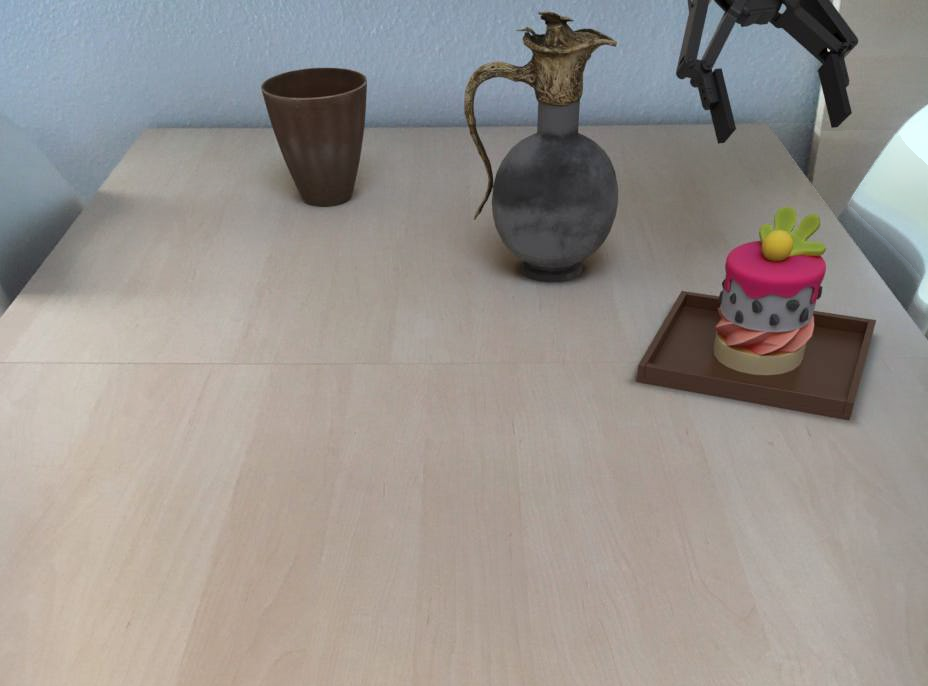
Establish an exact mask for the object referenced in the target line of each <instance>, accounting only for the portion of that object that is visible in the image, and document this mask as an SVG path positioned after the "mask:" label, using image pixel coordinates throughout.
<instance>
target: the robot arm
mask: <svg viewBox="0 0 928 686" xmlns="http://www.w3.org/2000/svg"><path fill="white" fill-rule="evenodd" d="M686 1H687V7H688V15H687V22H686V25H685V29H684V34H683V39H682V43H681V48H680V52H679V58H678V61H677V65H676V71H675V76H676V77H677V79H679V80H684V79H686V78H688V79H689V85H690V86H691V87H692V88H695V89H697V90H698V94H699V98H700V103H701V107H702V108H703V110H704V111H709V112H710V116H711V121H712V125H713V128H714V133H715V138H716V141H717V144H718V145H719V144H720V145H721V144H726V142H727V140H729V138H730V137H731V136H732V135H733V133H734V132H735V131H736V130H737V126H736V122H735V119H734V113H733V110H732V105H731V101H730V97H729V93H728V89H727V85H726V81H725V76H724V73H723V68H722V67H719V68H714V66H715V64H716V63H717V60H718V58H719V56H720V54H721V53H722V50H723V49H724V46H725V44H726V42H727V40H728V38H729V36H730V34H731V32H732V31H733V28H734V26H735V24H738V25H740V27H741V28H745V27H746V28H747V27H749V26H752V25H759V26H763V25H768V24H769V23H770V24H771V25H772V26H773V27H774V28H776V29H782V30H783V31H784V32H786V33H787V34H788V35H790V37H792V39H794V41H796V42H797V43H798V44H799V45H800V46H802V48H804V49H805V50H806V51H807V52H808V53H809V54H811V55H812V56H813V57H814V58H815V59H816V60H818V62H820V63H821V66H819V68H818V69H817V73H818V78H819V81H820V85H821V90H822V94H823V99H824V101H825V106H826V111H827V114H828V119H829V123H830V126H831V129H835V128H838V127H840V126H841V124H843V123H844V121H846V120H847V119H848V117H849V116H851V114H853V112H852V107H851V103H850V99H849V95H848V91H847V88H848V86H850V77H849V74H848V69H847V68H848V67H847V64H846V61H845V59H846V57H847V56H848V55H849V54H850V53H851V52H852V51H853V50H854V49H855V48H856V46H857V45H859V38H858V36H857V35H856V33H855V32H854V31H853V30H852V28H851V27H850V26H849V24H848V23H847V21H846V20H845V19H844V18H843V16H842V15H841V13H840V12H839V11H838V9H837V8H836V7H835V5H834V4H833V3H832V1H831V0H713V1H714V3H715V4H716V5H717V6H718V7H719V8H720V9H721V10H722V11H723V12H724V13H723V15H722V16H721V19H720V20H719V22H718V23H717V27H716V29H715V30H714V33H713V36H712V37H711V40H710V41H709V43H708V46H707V47H706V49H705V51H704V53H703V55H702V57H701V59H698V56H699V51H700V46H701V41H702V37H703V32H704V28H705V23H706V19H707V14H708V10H709V5H710V3H712V0H686ZM782 5H783V6H785V10H784V11H783V12H782V13H781V12H780V10H781V8H782ZM713 68H714V69H713Z"/></svg>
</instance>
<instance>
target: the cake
mask: <svg viewBox="0 0 928 686" xmlns="http://www.w3.org/2000/svg"><path fill="white" fill-rule="evenodd" d="M797 217H798V216H797V212H796V210H795V209H794V208H793V207H791V206H782V207H780V208H779V209H778V210H777V211H776V213H775V215H774V218H773V226H772V225H771V224H770V223H763V224H762V225H761V227H760V228H759V232H758V237H759V239H760V240H755V241H749V242H746V243H742V244H740V245H737V246H736V247H734V248H733V249H731V251H730V252H728V255H727V256H726V261H725V265H724V270H725V276H724V278H723V280H722V282H721V286H722V290H721V291H720V292H719V295H718V296H719V298H718V301H719V302H720V303H721V306H720V308H717V309H718V313H719V315H720V317H721V320H720V322H719V323H718V324H717V326H716V327H715V328H714V329H715V330H716V336H715V342H714V348H713V349H714V355H715V357H716V358H717V359H718V361H719V362H721V363H722V364H724V365H725V366H727V367H728V368H731V369H734V370H736V371H739V372H743V373H748V374H753V375H776V374H783V373H786V372H789V371H792V370H794V369H795V368H796V367H798V366H799V365H800V364H801V362H802V359H803V356H804V352H805V347H806V343H807V341H808V340H809V339H810V338H811V337H812V334H813V329H814V316H813V313H814V311H815V308H816V304H817V300H819V299H820V298H821V297H822V295H823V286H822V283H823V280H824V278H825V276H826V271H827V264H826V261H825V259H824V257H823V256H822V255H824V254H825V252H826V251H827V250H826V249H827V248H826V245H825V244H824V243H823V242H821V241H815V240H814V241H807V240H809V239H810V238H811V236H813V235H814V234H815V233H816V232H817V231H818V230H819V229H820V226H821V218H820V216H819V214H818V213H810V214H808V215H807V216H804V218H803V219H802V220H801V221H800V222H799V225H798V226H797V227H796V229H794V228H795V226H796V223H797Z"/></svg>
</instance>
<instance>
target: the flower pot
mask: <svg viewBox="0 0 928 686" xmlns="http://www.w3.org/2000/svg"><path fill="white" fill-rule="evenodd" d="M260 89H261V93H262V96H263V100H264V104H265V107H266V111H267V114H268V119H269V121H270V123H271V128H272V130H273V134H274V136H275V139H276V141H277V144H278V147H279V150H280V153H281V155H282V158H283V160H284V163H285V165H286V167H287V169H288V172H289V174H290V176H291V178H292V180H293V183H294V184H295V186H296V189H297V190H298V192H299V194H300V197H301V198H302V200H303V202H305V204H307V205H309V206H314V207H332V206H333V207H334V206H338V205H341V204H344V203H346V202H348V201H350V199H351V198H352V196H353V192H354V188H355V184H356V181H357V175H358V171H359V167H360V166H359V165H360V160H361V156H362V148H363V142H364V133H365V124H366V113H367V95H368V94H367V91H368V78H367V77H366V75H364V74H363V73H361V72H359V71H357V70H353V69H348V68H341V67H311V68H309V67H308V68H300V69H296V70H295V69H294V70H290V71H289V70H288V71H285V72H282V73H279V74H276V75H273V76H271V77H269V78H267V79H265V81H263V82H262V83H261V86H260Z"/></svg>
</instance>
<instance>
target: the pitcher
mask: <svg viewBox="0 0 928 686" xmlns="http://www.w3.org/2000/svg"><path fill="white" fill-rule="evenodd" d="M537 13H538V15H540V20H542V21H544V24H545V25H546V27H545V28H546V29H545V33H541V34H538V33H536V32H535V31H534V30H533V29H532V28H530V27H529V26H526V27H525V28H521V29H516V30H515V31H516V32H524V35H523V37H522V41H523V46H525V47H527V48H528V49H529V50H530V51H531V52H532V56H531V59H530V60H529V61H528V62H527V63H525V65H522V66H519V65H514V64H511V63H509V62H505V61H500V60H499V61H498V60H497V61H491V62H488V63H484V64H482V65H481V66H479V67H478V68H476V70H475V71H474V72H473V73H472V74H471V76H470V78H469V80H468V82H467V84H466V87H465V89H464V100H463V101H464V102H463V107H464V108H463V109H464V110H463V111H464V117H465V119H466V124H467V127H468V130H469V134H470V137H471V139H472V141H473V143H474V146H475V148H476V150H477V153H478V154H479V156H480V158H481V160H482V162H483V165H484V167H485V172H486V174H487V186H486V191H485V194H484V197H483V198H482V201H481V203H480V204H479V206H478V208H477V210H476V211H475V213H474V218H473V221H475V220H476V219H477V218H478V216H479V215H481V213H482V211H483V209H484V207H485V204H487V202H488V200H489V198H490V195H491V193H492V195H491V211H492V219H493V222H494V226H495V229H496V231H497V234H498V235H499V238H500V240H501V242H502V243H503V244H504V246H505V247H506V249H508V251H509V252H511V253H512V254H513V255H514V256H515V257H517V258H518V259H520V260H521V261H523V262H522V264H521V265H520V269H521V274H522V275H523V276H525V277H526V278H527V279H530V280H533V281H536V282H543V283H544V282H545V283H563V282H568V281H569V282H570V281H573V280H575V279H576V278H579V277H580V275H581V274H582V272H583V264H582V261H584V260H586V259H588V258H589V257H590V256H592V255H593V254H594V253H596V252H597V251H598V250H599V248H601V246H602V245H603V244H604V243H605V241H606V239H607V238H608V236H609V234H610V233H611V230H612V227H613V225H614V221H615V219H616V216H617V211H618V205H619V185H618V179H617V174H616V170H615V168H614V164H613V162H612V160H611V158H610V156H609V155H608V154H607V152H606V151H605V149H603V148H602V147H601V146H600V144H598V143H597V142H596V141H594V140H593V139H592V138H590V137H588V136H586V135H584V134H583V133H579V125H580V123H579V122H580V107H581V99H582V96H583V93H584V72H585V69H586V65H587V62H588V61H589V60H590V59H591V57H592V54H593V53H594V52H595V51H596V50H597V49H598V48H600V47H602V46H610V47H615V48H617V46H618V45H617V44H618V41H617V40H615V39H613V38H612V37H611V36H609V35H607V34H604V33H603V32H601V31H599V30H597V29H593V28H579V29H577V30H573V29H572V28H571V27H570V25H569V24H568V22H570V23H572V22H573V23H574V22H575V19H574V18H571V17H568V16H563V15H562V16H561V14H558V13H556V12H552V11H538V12H537ZM494 78H503V79H507V80H509V81H511V82H512V81H513V82H515V83H519V82H520V83H524V84H526V85H528V86H529V87H530V88H533V90H534V95H535V98H536V101H537V124H536V126H537V128H536V129H537V130H536V132H535V133H532V134H531V135H528V136H527V137H525V138H522V139H521V140H519V141H518V142H517V143H515V145H513V146H511V148H510V150H509V151H508V152H507V153H506V155H505V156H504V157H503V159H502V161H501V162H500V165H499V166H498V169H497V171H496V174H495V178H494V173H493V168H492V164H491V160H490V158H489V156H488V154H487V151H486V149H485V146H484V144H483V141H482V139H481V138H480V135H479V133H478V129H477V119H476V116H475V108H474V107H475V97H476V93H477V90H478V88H479V87H480V86H481V85H482V84H483V83H484V82H486V81H488V80H491V79H494Z"/></svg>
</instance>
